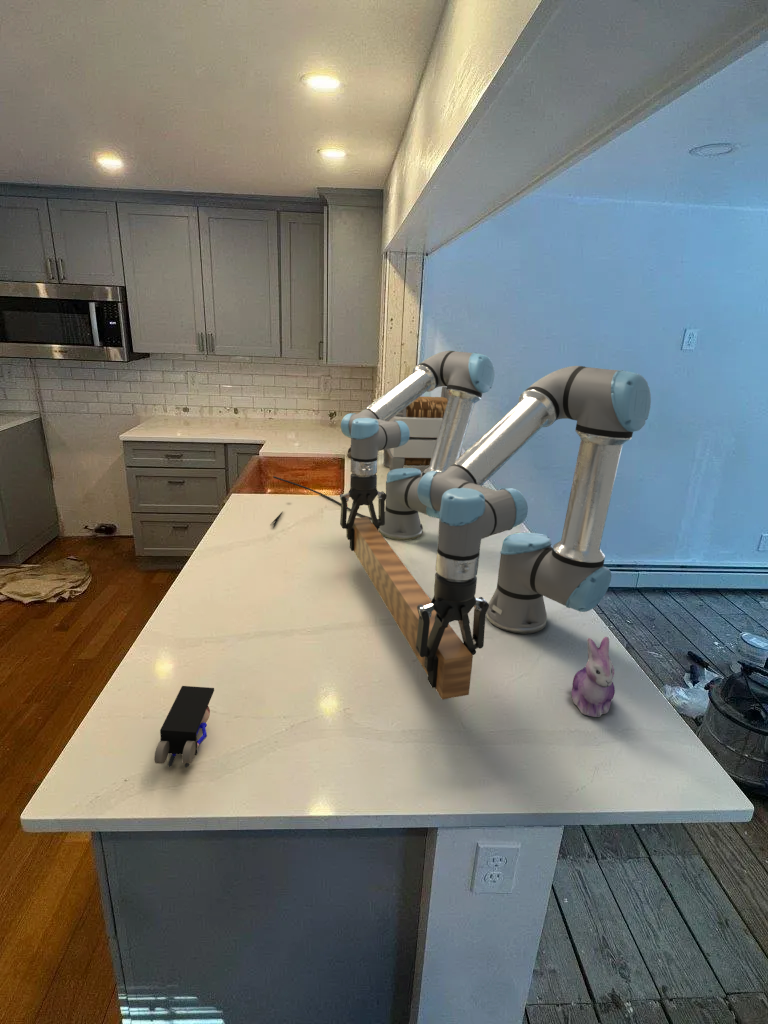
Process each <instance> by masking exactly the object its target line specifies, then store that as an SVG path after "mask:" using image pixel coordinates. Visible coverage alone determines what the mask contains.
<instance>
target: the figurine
mask: <svg viewBox="0 0 768 1024" xmlns="http://www.w3.org/2000/svg"><path fill="white" fill-rule="evenodd" d="M586 641H587V643H586V644H587V659H588V660H587V662H586V664H585V666H584V667H583V668H580V669H579V670H578V671H576V673H575V674H574V675H573V679H572V686H571V691H570V692H571V699H572V702H573V704H574V705H575V706H576V707H577V708H578V710H579V711H580V713H581V714H583V715H584V716H589V717H594V718H600V717H601V716H602V715H605V714H607V713H608V712H609V711H610V708H611V704H612V702H613V699H614V697H615V693H616V690H615V689H616V688H615V684H614V682H613V681H614V680H613V679H614V677H615V667H614V664H613V662H612V659H611V658H610V654H609V653H610V638H609V637H608V636H604V637H603V638H602V640H601V642H600V645H599V647H598V646H597V644H596V643H595V641H594V640H593V639H592V637H591V638H590V637H588V638H587V640H586Z"/></svg>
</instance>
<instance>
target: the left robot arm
mask: <svg viewBox="0 0 768 1024" xmlns="http://www.w3.org/2000/svg"><path fill="white" fill-rule="evenodd" d="M495 377H496V372H495V367H494V363H493V361H492V359H491V358H490V357H489V356H488V355H486V354H481V353H477V352H468V351H455V350H444V351H441V352H438V353H436V354H433V355H431V356H429V357H428V358H426V359H424V360H423V361H421V362H420V363H418V364H417V365H416V366H415V367H413V370H412V373H410V374H409V375H407V376H406V377H405V378H404V379H402V380H401V381H399V382H398V383H397V384H395V385H394V386H393V387H392V388H390V389H389V390H387V391H386V392H385V393H383V394H382V395H381V396H380V397H378V398H377V399H376V400H374V401H373V402H372V403H370V404H369V405H368V406H367V407H365V408H363V409H362V410H361V411H360V412H358V413H356V412H354V413H353V412H352V413H351V412H350V413H347V414H345V415H344V416H343V418H342V419H341V422H340V430H341V433H342V434H343V435H344V436H345V437H347V438H349V439H350V447H351V458H350V473H351V474H350V479H349V480H350V481H349V482H350V487H349V490H348V492H346V493H344V494H343V493H340V494H339V499H340V502H339V501H338V500H335V499H334V498H332V497H330V496H328V495H326V494H324V493H321V492H319V491H318V490H314V489H313V488H309V487H308V486H304V485H302V484H299V483H296V482H292V481H289V480H286V479H284V478H280V477H277V476H274V475H273V476H272V478H273V479H276V480H278V481H282V482H285V483H288V484H291V485H294V486H297V487H300V488H302V489H304V490H308V491H310V492H313V493H316V494H318V495H320V496H322V497H324V498H326V499H328V500H330V501H332V502H333V503H335V504H337V505H339V506H340V521H339V525H340V527H341V528H342V530H344V529H345V530H346V532H345V533H346V534H345V535H346V539H347V540H348V541H349V549H350V551H351V552H354V529H353V524H354V521H355V518H357V516H360V517H368V518H369V519H370V520H371V522H372V523H373V524H374V526H375V527H376V528H377V530H378V531H379V532H380V534H381V535H382V536H383V538H387V539H389V540H395V541H410V540H415V539H418V538H420V537H421V536H422V535H423V530H424V527H423V524H422V523H421V518H420V515H419V513H421V514H424V515H427V516H428V517H430V518H436V519H439V511H435V510H433V509H431V508H429V507H427V506H426V505H424V504H422V503H421V502H420V500H419V498H418V494H417V488H418V484H419V481H420V480H421V478H422V477H423V475H424V474H426V473H427V472H430V471H440V472H441V473H443V472H444V471H445V470H446V469H447V468H448V467H450V466H451V465H452V464H453V463H454V462H455V461H456V460H457V459H458V458H459V456H460V452H461V449H462V450H463V445H464V441H465V438H466V434H467V431H468V428H469V425H470V422H471V417H472V414H473V411H474V407H475V404H476V403H477V402H479V401H481V400H482V397H483V394H485V393H488V392H489V391H490V390H491V389H492V387H493V385H494V383H495ZM439 387H441V388H442V387H447V388H446V391H447V393H448V395H449V399H448V402H447V406H446V409H445V413H444V416H443V420H442V423H441V427H440V430H439V434H438V437H437V441H436V444H435V448H434V451H433V455H432V458H431V462H430V465H428V468H425V469H426V470H425V469H424V470H423V471H422V470H420V468H416V467H404V468H399V469H394V470H391V471H390V470H388V472H387V475H386V480H385V491H383V490H382V491H379V490H378V489H377V487H378V485H377V483H378V474H377V473H378V460H379V459H378V457H379V452H380V451H384V450H385V449H390V448H397V447H399V446H402V445H405V444H406V443H407V442H408V440H409V436H410V431H409V428H408V426H407V425H406V423H404V422H403V421H392V422H388V421H389V420H390V419H392V418H393V417H394V416H396V415H397V414H398V413H399V412H401V411H402V410H403V409H404V408H406V407H407V406H408V405H410V404H411V403H412V402H413V401H415V400H416V399H417V398H419V397H422V395H424V394H425V393H426V392H428V393H429V392H432V391H434V390H435V389H436V388H439ZM421 472H422V476H421ZM349 498H350V499H351V501H352V503H351V508H350V507H348V502H349ZM376 498H377V499H378V500H377V501H378V502H377V503H378V504H377V505H378V517H377V513H376V509H375V505H374V502H373V501H374V500H375V499H376ZM361 506H367V508H368V512H369V516H368V515H364V514H363V513H359V512H358V511H359V509H360V507H361ZM348 511H349V514H348Z"/></svg>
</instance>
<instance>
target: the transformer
mask: <svg viewBox="0 0 768 1024" xmlns="http://www.w3.org/2000/svg"><path fill="white" fill-rule="evenodd" d="M446 388H447V386H441V392H440V393H441V394H440V396H420V397H419V398H417V399H416V400H415V401H413V402H412V403H411V404H410V405H408V406H407V407H406V408H404V409H403V410H402V411H401V412H399V413H398V414H397V415H396V416H394V417H393V418H392V419H390V420H389V421H388V422H392V421H403V422H404V423H406V425H407V426H408V428H409V431H410V436H409V440H408V442H407V443H406V444H405V445H402V446H399V447H397V448H390V449H385V450H383V466H384V467H388V468H389V471H391V470H394V469H399V468H405V466H406V467H407V466H411V467H412V466H413V467H415V466H416V467H417V466H418V467H429V465H430V462H431V458H432V455H433V451H434V448H435V444H436V441H437V437H438V434H439V430H440V427H441V423H442V420H443V416H444V413H445V409H446V406H447V402H448V399H449V395H448V393H447V391H446ZM462 454H463V448H462V449H461V452H460V456H461V455H462ZM460 456H459V457H460Z"/></svg>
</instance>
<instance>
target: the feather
mask: <svg viewBox="0 0 768 1024" xmlns="http://www.w3.org/2000/svg"><path fill="white" fill-rule="evenodd" d="M282 514H283V512H280V514H279V515H278V516H277V517H275V519H274V520H273V521H272V522H271V524H270V526H272V525H273V529H274V528H275V526H276V524H277V523H278V521H279V520H280V518H281V516H282Z"/></svg>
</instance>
